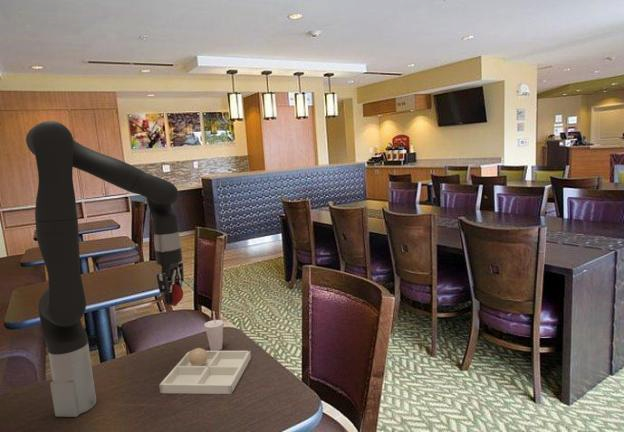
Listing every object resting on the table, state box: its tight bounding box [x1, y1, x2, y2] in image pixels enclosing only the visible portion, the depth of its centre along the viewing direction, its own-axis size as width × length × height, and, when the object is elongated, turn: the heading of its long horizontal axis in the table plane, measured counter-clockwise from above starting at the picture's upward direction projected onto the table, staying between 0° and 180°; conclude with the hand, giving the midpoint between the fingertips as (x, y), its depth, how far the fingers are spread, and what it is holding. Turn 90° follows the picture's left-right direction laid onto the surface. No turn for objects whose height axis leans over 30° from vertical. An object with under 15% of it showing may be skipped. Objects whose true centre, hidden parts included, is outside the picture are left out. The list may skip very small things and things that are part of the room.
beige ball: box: [189, 347, 208, 366], centre depth 132 cm, size 6×6×6 cm
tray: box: [158, 350, 252, 395], centre depth 127 cm, size 20×20×3 cm
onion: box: [162, 281, 184, 307], centre depth 131 cm, size 6×6×8 cm
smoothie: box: [203, 310, 224, 351], centre depth 143 cm, size 6×6×14 cm
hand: (173, 300), depth 132 cm, fingers closed on onion, 6 cm apart
